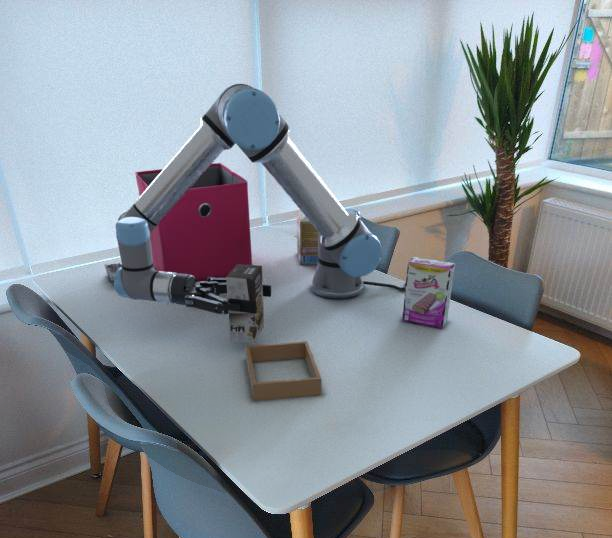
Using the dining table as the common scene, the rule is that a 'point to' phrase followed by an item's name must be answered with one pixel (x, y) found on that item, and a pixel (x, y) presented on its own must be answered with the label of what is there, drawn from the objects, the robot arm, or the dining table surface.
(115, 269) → the egg carton
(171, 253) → the storage bin
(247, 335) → the coffee box
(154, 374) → the dining table surface
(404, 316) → the candy bar box
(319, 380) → the wooden box
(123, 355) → the dining table surface
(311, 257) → the milk carton
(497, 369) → the dining table surface
